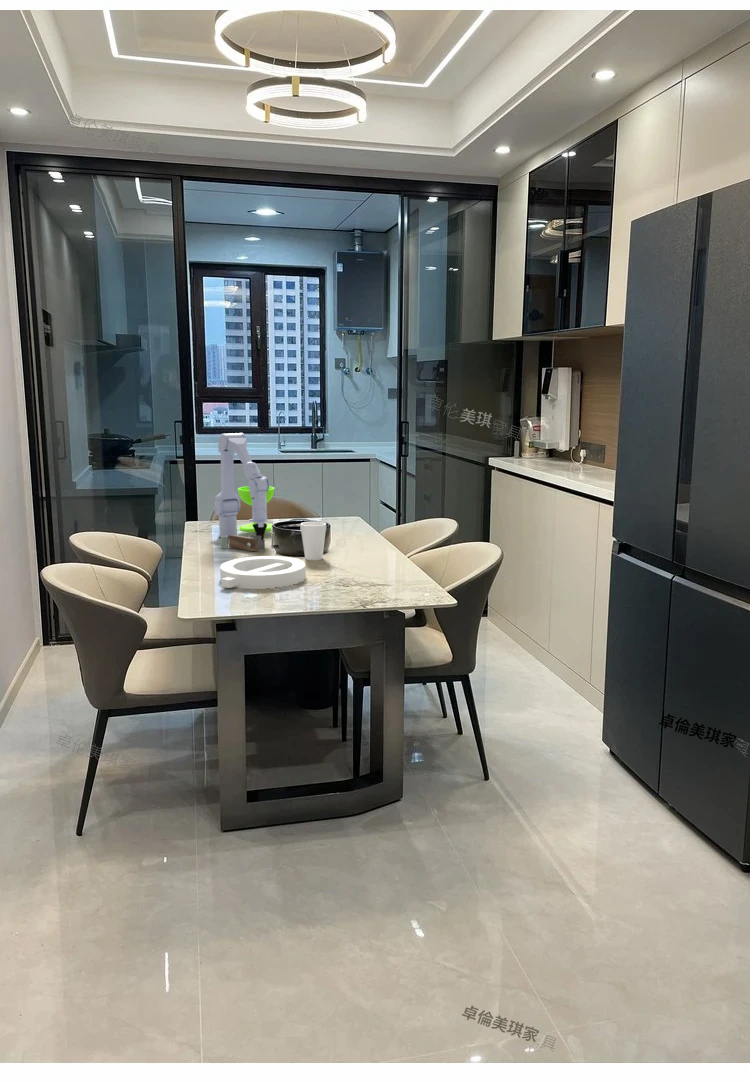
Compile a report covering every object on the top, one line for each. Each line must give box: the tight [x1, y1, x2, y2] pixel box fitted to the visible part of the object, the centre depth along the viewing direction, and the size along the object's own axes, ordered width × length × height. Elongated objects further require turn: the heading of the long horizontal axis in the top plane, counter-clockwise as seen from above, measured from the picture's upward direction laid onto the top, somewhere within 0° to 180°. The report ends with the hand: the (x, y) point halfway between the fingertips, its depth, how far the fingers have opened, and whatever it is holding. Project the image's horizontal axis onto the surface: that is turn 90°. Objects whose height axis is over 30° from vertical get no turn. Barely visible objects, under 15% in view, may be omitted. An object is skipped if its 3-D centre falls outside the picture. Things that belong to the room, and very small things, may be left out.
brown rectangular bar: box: [228, 535, 259, 552], centre depth 307 cm, size 3×14×5 cm, turn 55°
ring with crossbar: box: [219, 555, 307, 590], centre depth 264 cm, size 28×28×5 cm
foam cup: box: [300, 521, 327, 561], centre depth 292 cm, size 10×9×13 cm
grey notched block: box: [249, 534, 266, 551], centre depth 311 cm, size 8×4×5 cm, turn 170°
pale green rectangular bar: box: [220, 533, 274, 549], centre depth 313 cm, size 2×22×4 cm, turn 102°
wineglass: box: [237, 485, 276, 533], centre depth 349 cm, size 16×16×18 cm
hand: (260, 541), depth 315 cm, fingers closed, pressing on grey notched block
